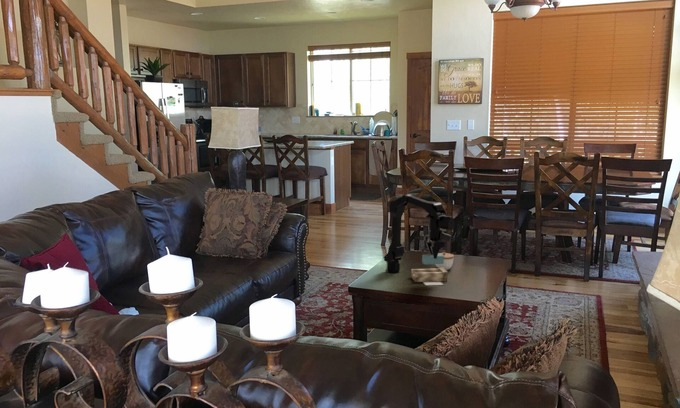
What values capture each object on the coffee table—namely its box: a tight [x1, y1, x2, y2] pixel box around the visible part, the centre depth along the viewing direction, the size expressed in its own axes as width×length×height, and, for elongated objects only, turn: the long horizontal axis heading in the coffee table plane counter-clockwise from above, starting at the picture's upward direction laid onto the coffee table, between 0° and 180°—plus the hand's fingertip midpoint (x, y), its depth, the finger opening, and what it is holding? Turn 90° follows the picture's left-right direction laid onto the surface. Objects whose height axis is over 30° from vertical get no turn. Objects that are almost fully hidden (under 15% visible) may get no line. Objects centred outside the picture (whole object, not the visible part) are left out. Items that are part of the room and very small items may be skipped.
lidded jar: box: [435, 251, 455, 271], centre depth 316 cm, size 11×11×9 cm
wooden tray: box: [410, 267, 449, 283], centre depth 295 cm, size 17×8×5 cm, turn 96°
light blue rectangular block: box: [421, 254, 444, 265], centre depth 287 cm, size 10×4×4 cm, turn 97°
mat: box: [422, 281, 444, 287], centre depth 287 cm, size 9×5×1 cm, turn 96°
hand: (433, 257), depth 287 cm, fingers closed on light blue rectangular block, 4 cm apart
